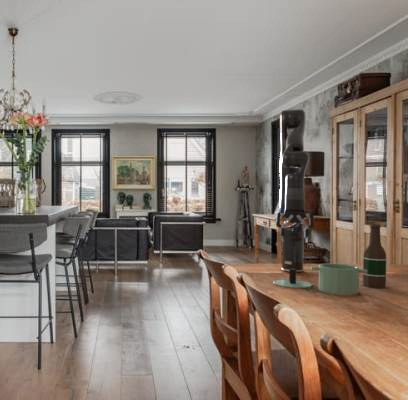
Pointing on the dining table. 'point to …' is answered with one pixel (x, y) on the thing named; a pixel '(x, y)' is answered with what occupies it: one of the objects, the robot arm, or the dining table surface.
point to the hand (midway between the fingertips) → (294, 237)
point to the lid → (292, 281)
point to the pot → (339, 278)
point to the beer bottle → (374, 260)
